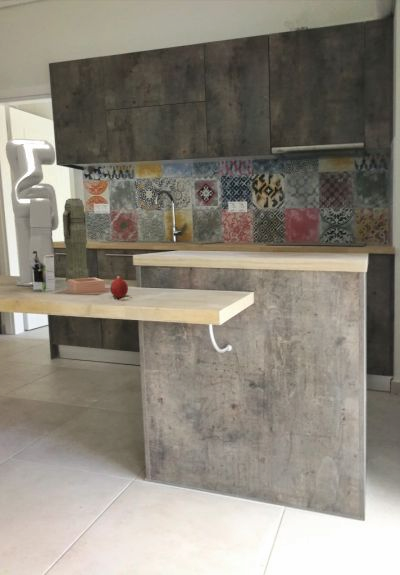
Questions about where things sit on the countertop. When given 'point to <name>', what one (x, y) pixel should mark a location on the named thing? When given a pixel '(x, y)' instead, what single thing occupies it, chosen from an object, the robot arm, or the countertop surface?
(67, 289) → the board
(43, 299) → the countertop surface
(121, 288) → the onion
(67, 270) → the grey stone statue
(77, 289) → the terracotta square tray
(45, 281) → the syrup box
